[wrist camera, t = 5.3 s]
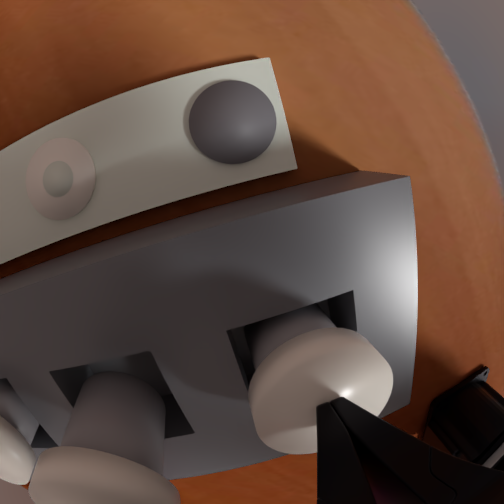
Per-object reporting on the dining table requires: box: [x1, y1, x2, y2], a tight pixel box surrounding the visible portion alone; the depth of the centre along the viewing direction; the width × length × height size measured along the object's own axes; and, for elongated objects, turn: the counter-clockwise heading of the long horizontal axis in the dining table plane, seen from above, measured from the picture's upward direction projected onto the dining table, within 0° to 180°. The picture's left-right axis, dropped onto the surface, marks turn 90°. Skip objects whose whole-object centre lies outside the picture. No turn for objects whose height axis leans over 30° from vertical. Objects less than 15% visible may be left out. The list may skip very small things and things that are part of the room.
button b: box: [28, 371, 180, 504], centre depth 8 cm, size 4×4×5 cm
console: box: [0, 171, 418, 480], centre depth 12 cm, size 24×11×4 cm, turn 103°
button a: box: [244, 303, 393, 454], centre depth 11 cm, size 4×4×5 cm
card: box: [0, 58, 298, 264], centre depth 10 cm, size 18×5×1 cm, turn 103°
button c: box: [0, 378, 39, 485], centre depth 9 cm, size 4×4×5 cm
